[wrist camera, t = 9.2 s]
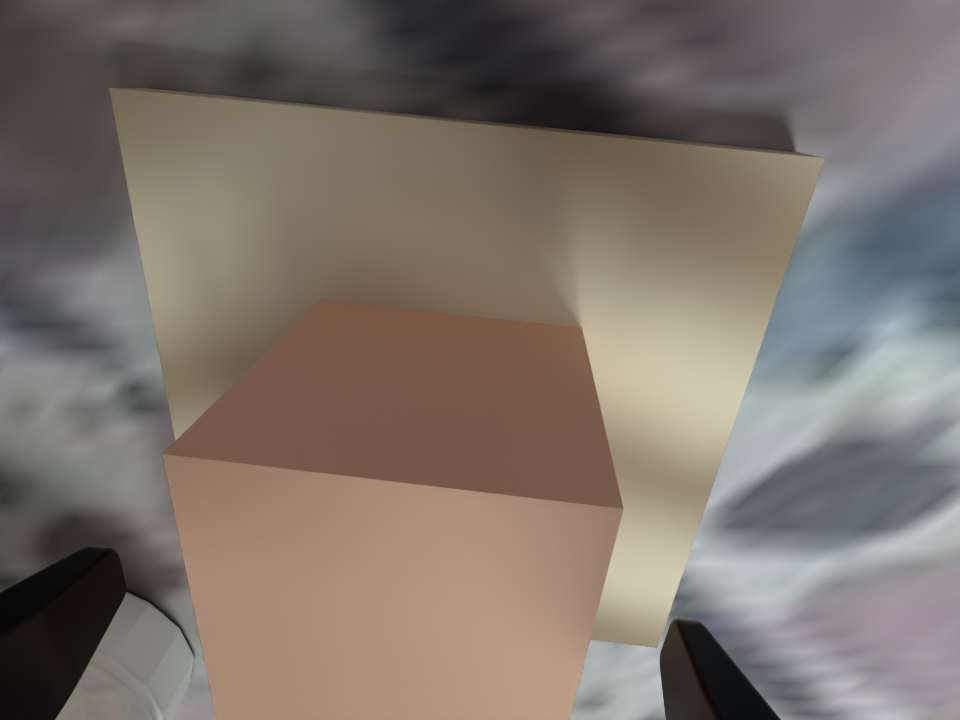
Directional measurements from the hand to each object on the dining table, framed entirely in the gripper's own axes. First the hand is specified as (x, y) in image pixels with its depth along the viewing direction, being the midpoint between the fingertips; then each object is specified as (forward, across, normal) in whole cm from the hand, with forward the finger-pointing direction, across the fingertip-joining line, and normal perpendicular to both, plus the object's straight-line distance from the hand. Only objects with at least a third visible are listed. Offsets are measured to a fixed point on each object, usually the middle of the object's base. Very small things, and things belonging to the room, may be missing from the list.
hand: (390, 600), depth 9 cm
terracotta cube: (+5, 0, 0) cm, 5 cm away
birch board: (+7, 0, 0) cm, 7 cm away
